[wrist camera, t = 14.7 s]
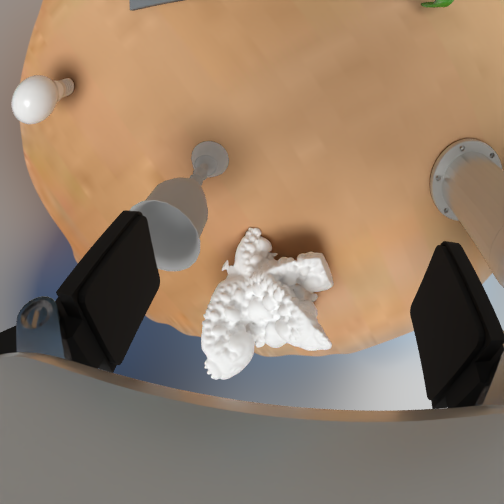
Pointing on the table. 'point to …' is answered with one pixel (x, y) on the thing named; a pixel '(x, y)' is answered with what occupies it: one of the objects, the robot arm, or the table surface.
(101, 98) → the table surface
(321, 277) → the white bumpy sculpture
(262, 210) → the table surface
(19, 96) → the lightbulb
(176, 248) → the chalice
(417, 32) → the table surface
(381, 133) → the table surface
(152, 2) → the charcoal mat
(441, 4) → the snack cup
